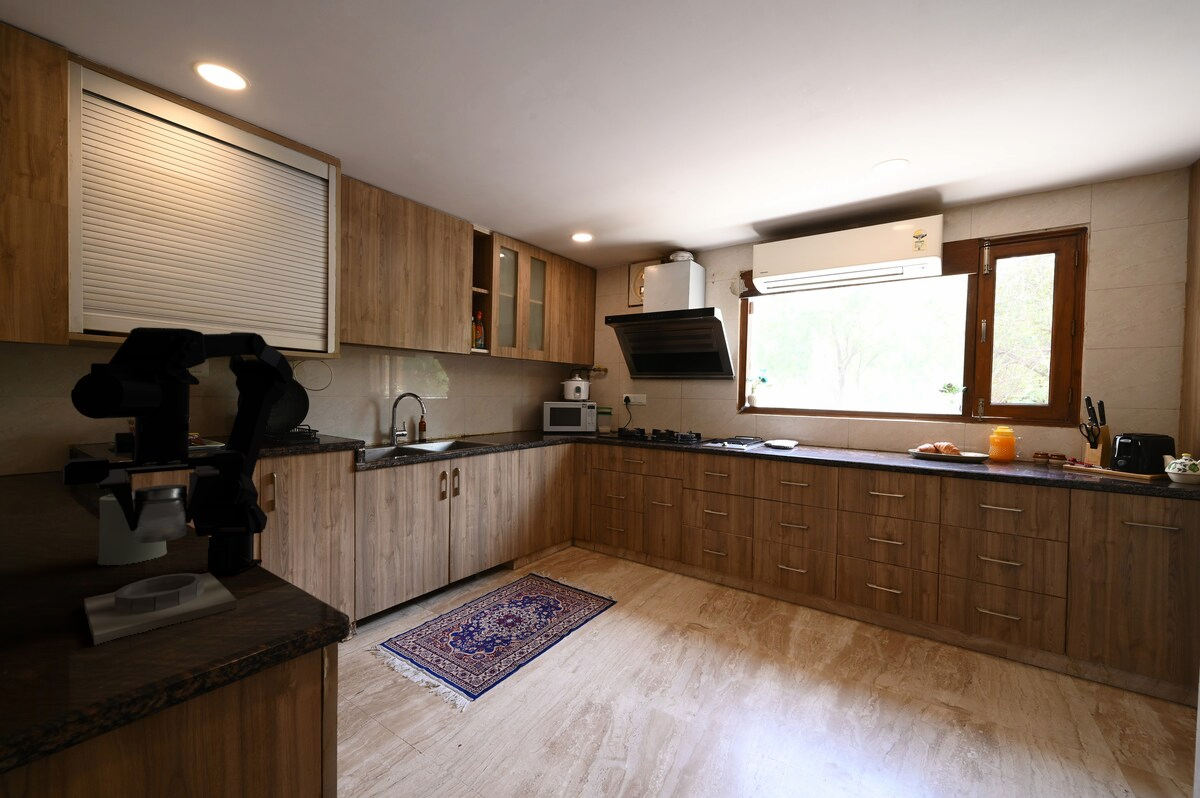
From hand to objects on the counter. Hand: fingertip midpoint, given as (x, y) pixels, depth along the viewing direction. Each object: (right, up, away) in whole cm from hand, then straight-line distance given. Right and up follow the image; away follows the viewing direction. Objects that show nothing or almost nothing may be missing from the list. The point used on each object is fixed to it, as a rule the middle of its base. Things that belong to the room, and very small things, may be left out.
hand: (161, 526), depth 69 cm
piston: (0, -2, 0) cm, 2 cm away
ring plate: (0, -11, 0) cm, 11 cm away
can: (-24, -11, +21) cm, 34 cm away
